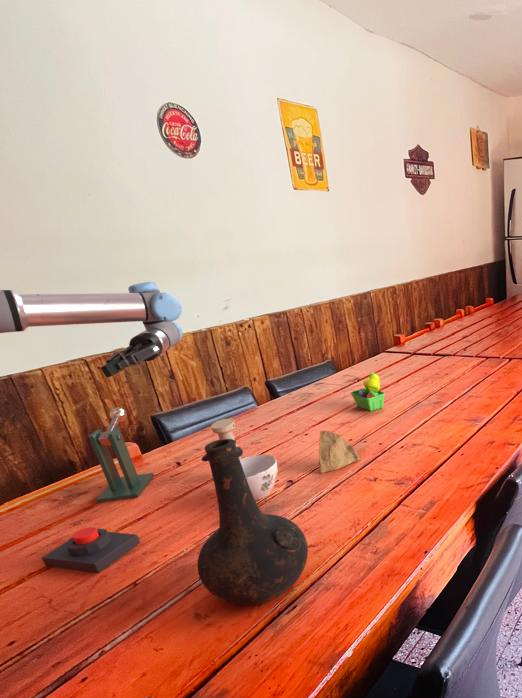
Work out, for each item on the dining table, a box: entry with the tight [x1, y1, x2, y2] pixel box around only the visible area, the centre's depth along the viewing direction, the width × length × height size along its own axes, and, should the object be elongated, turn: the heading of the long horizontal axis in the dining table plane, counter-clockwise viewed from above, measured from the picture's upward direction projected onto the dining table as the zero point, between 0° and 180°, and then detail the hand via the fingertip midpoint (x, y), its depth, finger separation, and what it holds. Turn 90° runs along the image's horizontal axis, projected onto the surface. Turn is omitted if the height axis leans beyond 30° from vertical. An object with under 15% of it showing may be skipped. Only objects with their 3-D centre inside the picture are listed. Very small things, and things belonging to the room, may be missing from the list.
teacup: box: [240, 454, 278, 501], centre depth 120 cm, size 15×12×8 cm
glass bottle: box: [197, 439, 309, 606], centre depth 86 cm, size 18×18×28 cm
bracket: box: [88, 427, 155, 504], centre depth 125 cm, size 12×9×16 cm
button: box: [71, 526, 99, 545], centre depth 101 cm, size 4×4×2 cm
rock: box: [318, 430, 361, 475], centre depth 134 cm, size 11×9×10 cm
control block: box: [41, 528, 141, 574], centre depth 103 cm, size 13×10×4 cm
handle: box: [210, 418, 242, 459], centre depth 129 cm, size 5×6×15 cm
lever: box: [98, 407, 128, 447], centre depth 127 cm, size 13×4×4 cm, turn 13°
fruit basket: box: [350, 372, 386, 412], centre depth 175 cm, size 11×9×11 cm
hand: (106, 372), depth 128 cm, fingers closed
